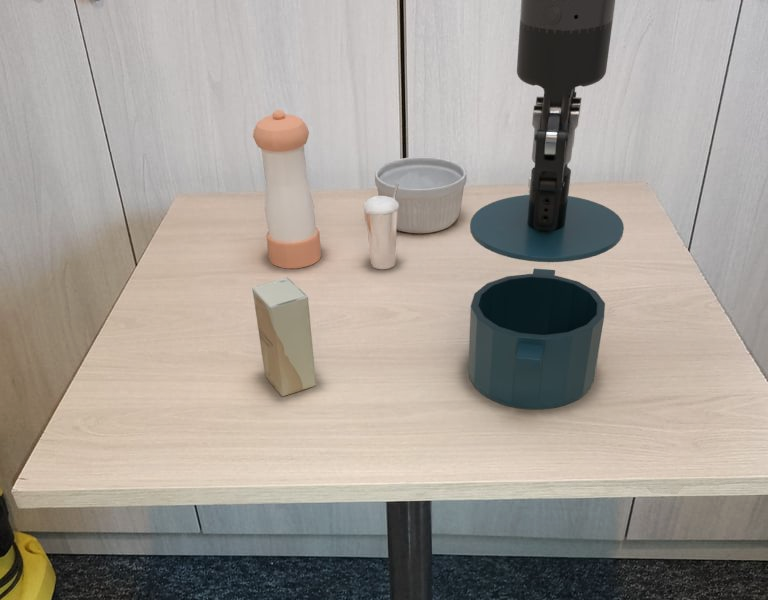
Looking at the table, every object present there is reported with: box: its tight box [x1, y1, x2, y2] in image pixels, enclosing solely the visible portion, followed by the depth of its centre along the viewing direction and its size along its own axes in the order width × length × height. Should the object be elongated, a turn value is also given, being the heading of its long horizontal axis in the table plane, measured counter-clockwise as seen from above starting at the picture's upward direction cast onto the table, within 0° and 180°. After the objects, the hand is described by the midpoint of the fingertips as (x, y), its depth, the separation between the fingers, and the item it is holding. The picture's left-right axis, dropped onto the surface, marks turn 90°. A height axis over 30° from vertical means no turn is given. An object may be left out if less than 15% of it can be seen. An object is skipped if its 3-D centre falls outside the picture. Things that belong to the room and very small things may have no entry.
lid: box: [469, 166, 625, 263], centre depth 77 cm, size 15×15×6 cm
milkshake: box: [363, 184, 399, 270], centre depth 108 cm, size 4×5×10 cm
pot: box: [467, 268, 606, 410], centre depth 87 cm, size 14×19×8 cm
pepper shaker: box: [252, 109, 322, 269], centre depth 107 cm, size 7×7×19 cm
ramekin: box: [374, 156, 467, 234], centre depth 119 cm, size 13×13×7 cm
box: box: [252, 277, 317, 397], centre depth 87 cm, size 5×4×11 cm
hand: (546, 219), depth 78 cm, fingers closed on lid, 3 cm apart
